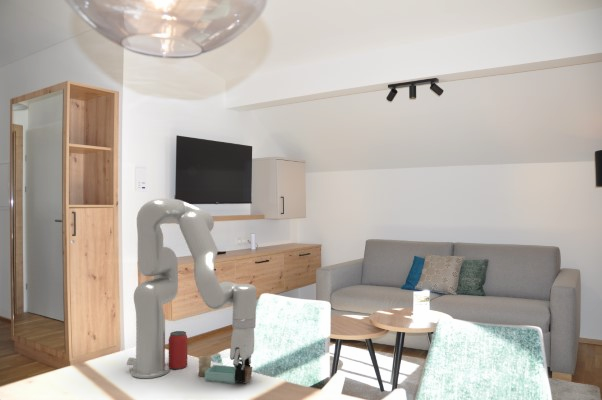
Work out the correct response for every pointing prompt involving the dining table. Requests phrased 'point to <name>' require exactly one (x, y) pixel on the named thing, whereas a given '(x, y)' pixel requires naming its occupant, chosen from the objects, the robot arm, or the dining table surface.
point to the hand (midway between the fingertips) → (242, 378)
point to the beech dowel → (204, 364)
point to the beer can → (178, 350)
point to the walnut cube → (247, 373)
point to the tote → (220, 374)
